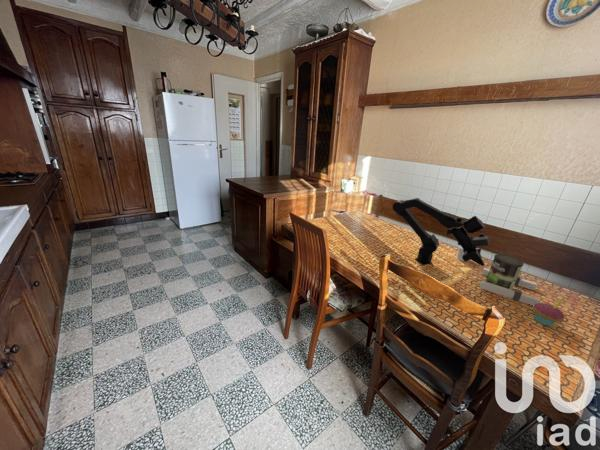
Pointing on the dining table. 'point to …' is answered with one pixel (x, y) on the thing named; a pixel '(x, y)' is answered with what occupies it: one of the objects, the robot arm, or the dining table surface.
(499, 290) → the guide track
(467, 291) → the dining table surface
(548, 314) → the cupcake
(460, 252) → the shot glass
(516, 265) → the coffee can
